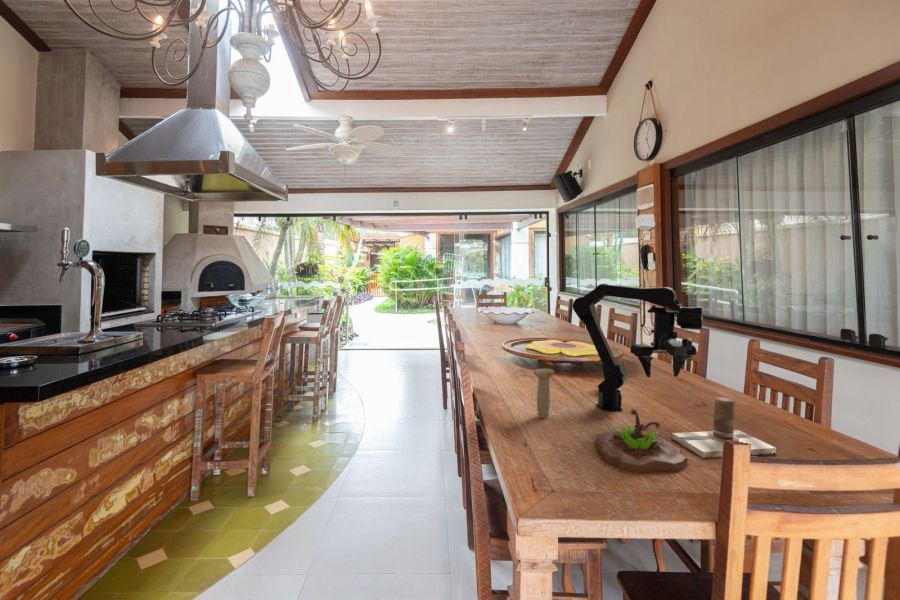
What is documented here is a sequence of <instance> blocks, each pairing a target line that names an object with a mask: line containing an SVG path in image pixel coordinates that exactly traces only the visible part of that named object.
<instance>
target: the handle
mask: <svg viewBox="0 0 900 600" xmlns="http://www.w3.org/2000/svg"><path fill="white" fill-rule="evenodd" d="M533 375H534V377H535V376H536V377H537V378H538V381H537V383H538V384H537V394H536V395H537V397H536V407H537V408H536V410H537V417H538V418H539V419H545V420H546V419H547V418H549V414H550V413H549V412H550V406H551V405H550V404H551V397H550V395H551V393H550V392H551V391H550V378H551V377H553V376H554V375H555V370H554V369H551V368H537V369H534V370H533Z"/></svg>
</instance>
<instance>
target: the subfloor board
mask: <svg viewBox="0 0 900 600" xmlns="http://www.w3.org/2000/svg"><path fill="white" fill-rule="evenodd" d="M733 431H734V436H733V439H731V440H732V441H739V442H743V443H748V444H751V454H752V455H751V456H760V455H759V454H763V455H765V454H764V453H767V454H766V455H774V454H773V453H776V454H777V447H775V446H773V445H771V444H769V443H766V442H765V441H762V440H760V439H758V438H757V437H754V436H752V435H750V434H748V433H745V432H744V431H741V430H739V429H733ZM671 435H672V436H671V439H673V440H674V441H675V442H678V443H679V444H680V445H683V447H685V448H687V449H688V450H690V451H692V452H693V453H694V454H696V455H698V456H700V457H701V458H704V459H705V457H707V458H722V451H723V443H724V442H725V441H727V440H726V439H720V438H717V437H715V436H714V435H713V430H711V431H693V432H692V431H689V432H687V431H686V432H672V433H671ZM770 453H771V454H770ZM718 456H719V457H718Z"/></svg>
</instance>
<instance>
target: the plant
mask: <svg viewBox="0 0 900 600" xmlns="http://www.w3.org/2000/svg"><path fill="white" fill-rule="evenodd" d="M629 414H630V415H631V416H635V424H634V425H633V424H632V426H630V427H631V428H629V427H627V426H625V427H624V430H623V429H621V428H616V430H617V431H612V432H603V433H597V434H596V436H595V445H596V446H597V447H598V451H599V452H600V453H601V455H600V456H601V457H600V458H602V459H604V460H605V461H606V462H607V463H608V464H610V465H614V466H618V467H619V468H620V470H622V471H626V472H629V471H630V473H635V474H643V473H645V474H646V473H653V472H671V471H672V472H673V473H676V472H678V471H681V469H682V470H683V469H684V468H685V467H687V466H688V457H687V456H685V455H684V454H682V451H681V449H680V448H678V447H677V446H675V445H673V444H671V443H670V442H668V441H667V440H666V439H664V438H662V437H660V436H658V435H659V432H658V431H653V432H652V431H651V432H649V433H648V430H647V429H648V428H649V427H650V426H652V425H655V427H656V429H657V430H662V428H663V425H662V424H661V423H660V422H657V421H650V422H648V423H646V424H644V423H642V424H641V421H640V417H639V414H638V411H637V410H636V409H633V408H632V409H631V410H630V411H629ZM686 465H687V466H686ZM684 466H685V467H684ZM677 470H678V471H677ZM672 472H671V473H672Z"/></svg>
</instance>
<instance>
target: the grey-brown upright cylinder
mask: <svg viewBox="0 0 900 600" xmlns="http://www.w3.org/2000/svg"><path fill="white" fill-rule="evenodd" d="M735 404H736V401H735V400H734V399H731V398H728V397H715V398H714V407H713V409H714V411H713V427H712V431H713V435H714V436H715V437H717V438H720V439H726V440H731V439H733V436H734V431H733V430H735V429H734V423H735V407H736V406H735Z"/></svg>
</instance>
